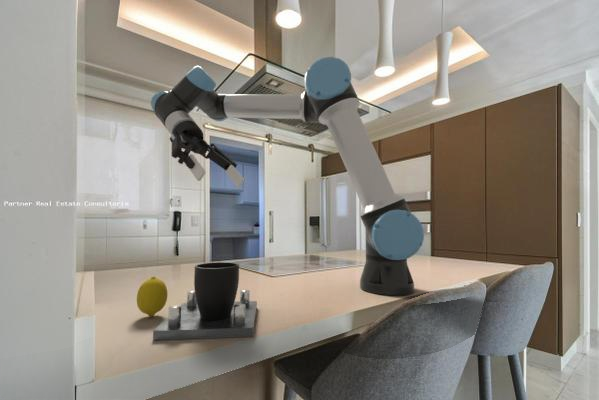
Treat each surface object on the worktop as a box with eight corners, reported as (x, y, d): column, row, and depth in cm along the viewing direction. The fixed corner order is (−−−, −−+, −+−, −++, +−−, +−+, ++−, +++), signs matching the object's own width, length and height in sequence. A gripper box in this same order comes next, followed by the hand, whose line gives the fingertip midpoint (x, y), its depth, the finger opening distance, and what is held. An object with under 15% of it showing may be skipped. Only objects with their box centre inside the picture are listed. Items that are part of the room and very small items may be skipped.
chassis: (256, 307, 63) (257, 287, 63) (252, 336, 47) (253, 309, 47) (183, 309, 61) (183, 288, 61) (152, 340, 45) (154, 311, 46)
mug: (228, 302, 62) (229, 258, 63) (243, 319, 51) (244, 266, 52) (188, 307, 58) (190, 260, 59) (195, 326, 47) (197, 269, 48)
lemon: (161, 310, 61) (162, 273, 61) (170, 316, 57) (172, 276, 57) (132, 316, 57) (134, 276, 57) (140, 323, 53) (142, 280, 53)
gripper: (211, 151, 90) (246, 195, 82) (134, 128, 69) (172, 185, 60) (224, 133, 88) (261, 176, 80) (149, 103, 66) (189, 158, 58)
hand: (223, 180), depth 70 cm, fingers open, 13 cm apart
